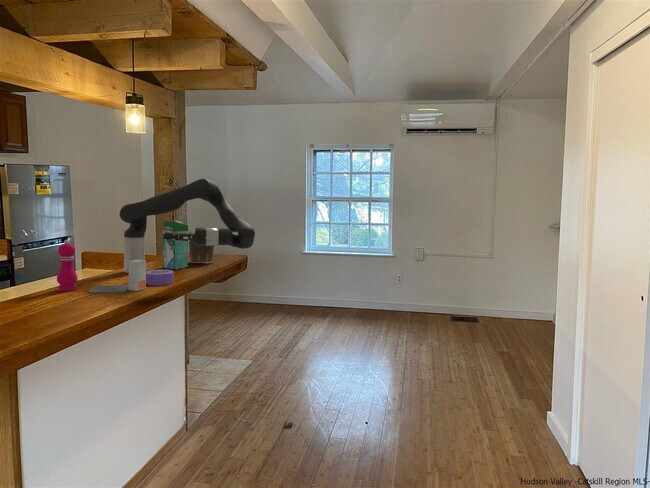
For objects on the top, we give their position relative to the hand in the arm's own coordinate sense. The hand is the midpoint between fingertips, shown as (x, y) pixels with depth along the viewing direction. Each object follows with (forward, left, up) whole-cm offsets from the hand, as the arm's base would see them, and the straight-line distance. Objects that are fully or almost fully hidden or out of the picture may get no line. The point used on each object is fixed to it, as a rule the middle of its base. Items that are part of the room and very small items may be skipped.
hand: (163, 236), depth 192 cm
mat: (0, -21, -22) cm, 30 cm away
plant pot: (-71, +18, -22) cm, 77 cm away
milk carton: (-54, +4, -22) cm, 59 cm away
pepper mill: (-1, -36, -22) cm, 42 cm away
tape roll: (-14, -2, -22) cm, 26 cm away
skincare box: (0, -10, -22) cm, 24 cm away
